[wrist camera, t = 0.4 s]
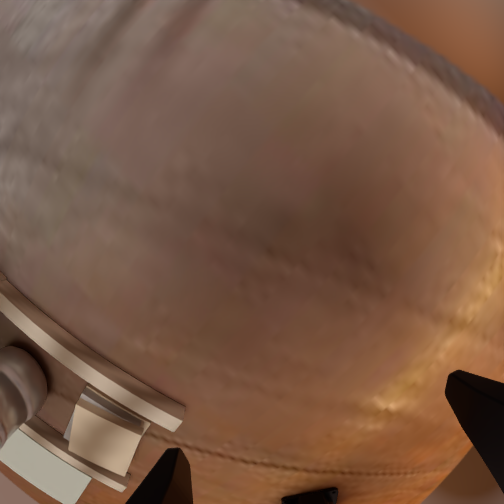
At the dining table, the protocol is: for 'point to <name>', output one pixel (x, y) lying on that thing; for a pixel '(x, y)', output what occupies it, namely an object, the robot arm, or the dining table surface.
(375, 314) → the dining table surface
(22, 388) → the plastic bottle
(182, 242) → the dining table surface
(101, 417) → the offcut stack
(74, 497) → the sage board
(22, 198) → the dining table surface
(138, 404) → the birch rack
